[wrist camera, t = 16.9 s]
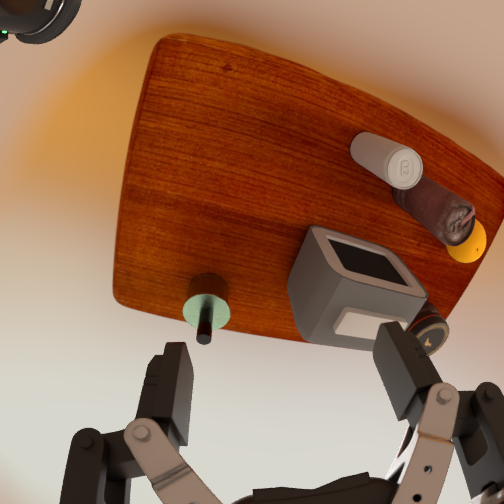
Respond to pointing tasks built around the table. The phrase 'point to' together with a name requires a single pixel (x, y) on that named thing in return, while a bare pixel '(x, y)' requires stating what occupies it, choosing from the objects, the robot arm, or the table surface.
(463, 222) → the can
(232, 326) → the table surface
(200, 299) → the lid
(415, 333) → the jar
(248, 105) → the table surface
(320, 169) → the table surface
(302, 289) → the alarm clock
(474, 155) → the table surface
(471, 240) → the orange
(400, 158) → the beverage can
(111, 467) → the robot arm
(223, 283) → the pot
